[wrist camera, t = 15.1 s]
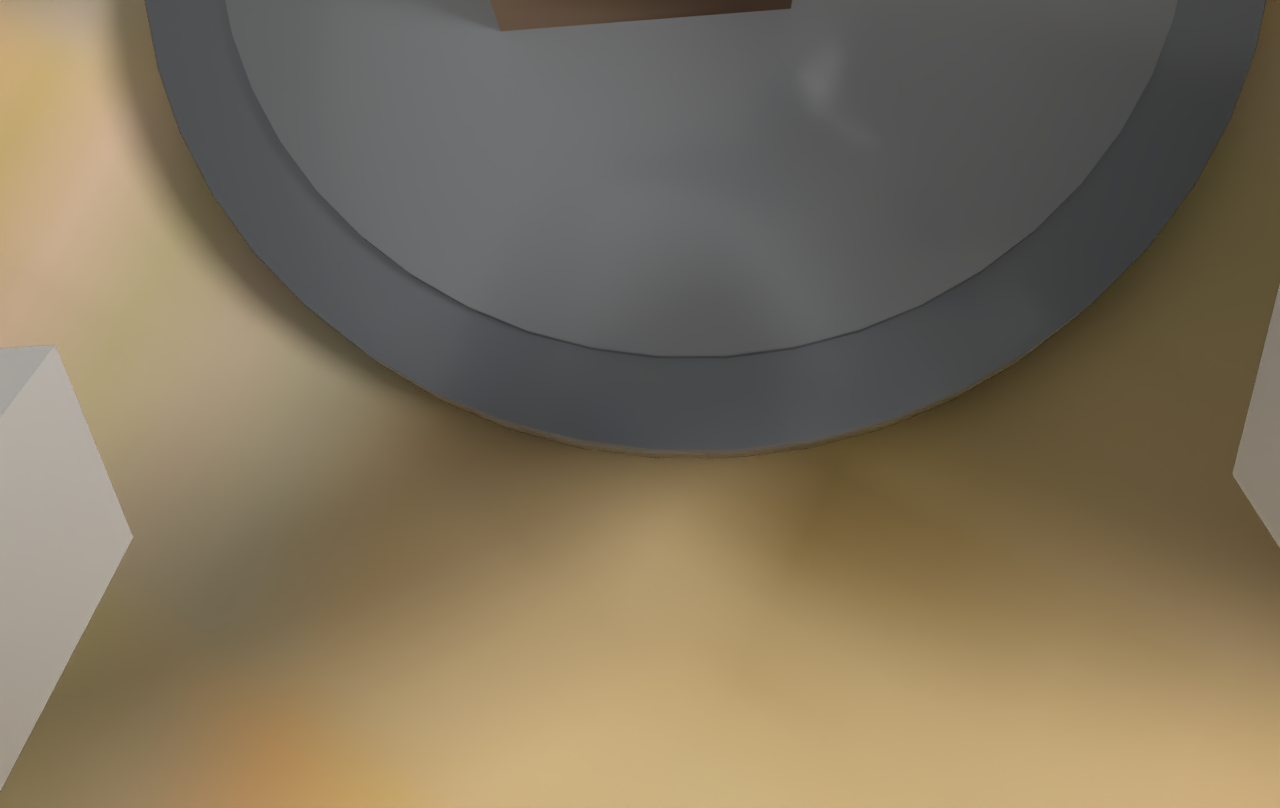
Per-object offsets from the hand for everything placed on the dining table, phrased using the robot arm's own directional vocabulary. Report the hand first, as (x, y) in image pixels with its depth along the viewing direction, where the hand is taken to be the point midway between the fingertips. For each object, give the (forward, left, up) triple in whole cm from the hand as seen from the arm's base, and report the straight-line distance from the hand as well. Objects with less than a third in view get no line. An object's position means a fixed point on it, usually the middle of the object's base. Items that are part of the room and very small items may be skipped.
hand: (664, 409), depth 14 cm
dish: (-1, -10, -8) cm, 13 cm away
